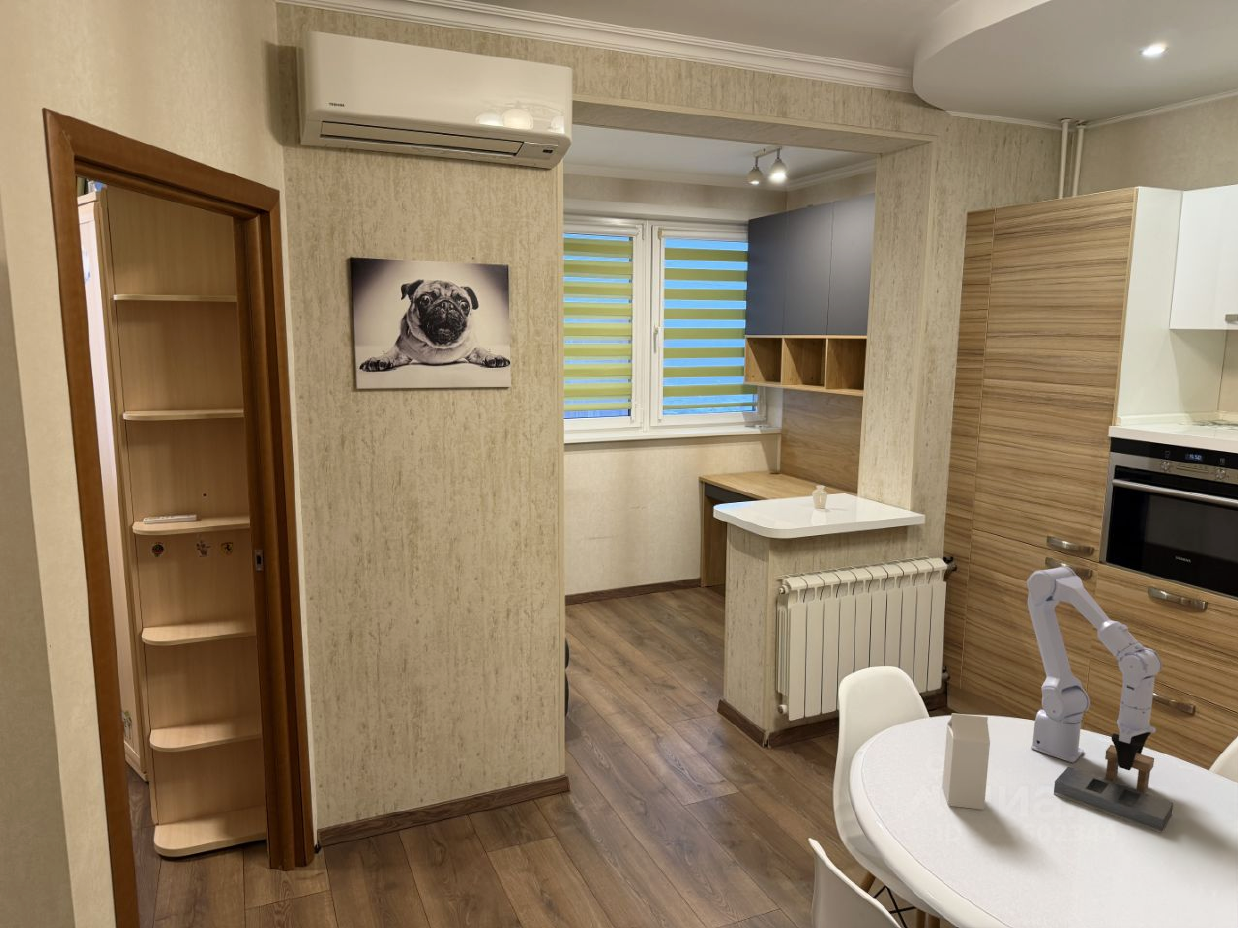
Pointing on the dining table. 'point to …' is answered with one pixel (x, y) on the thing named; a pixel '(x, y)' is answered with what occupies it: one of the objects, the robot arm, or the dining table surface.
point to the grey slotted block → (1114, 799)
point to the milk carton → (966, 761)
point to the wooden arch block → (1140, 763)
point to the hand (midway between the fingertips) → (1129, 762)
